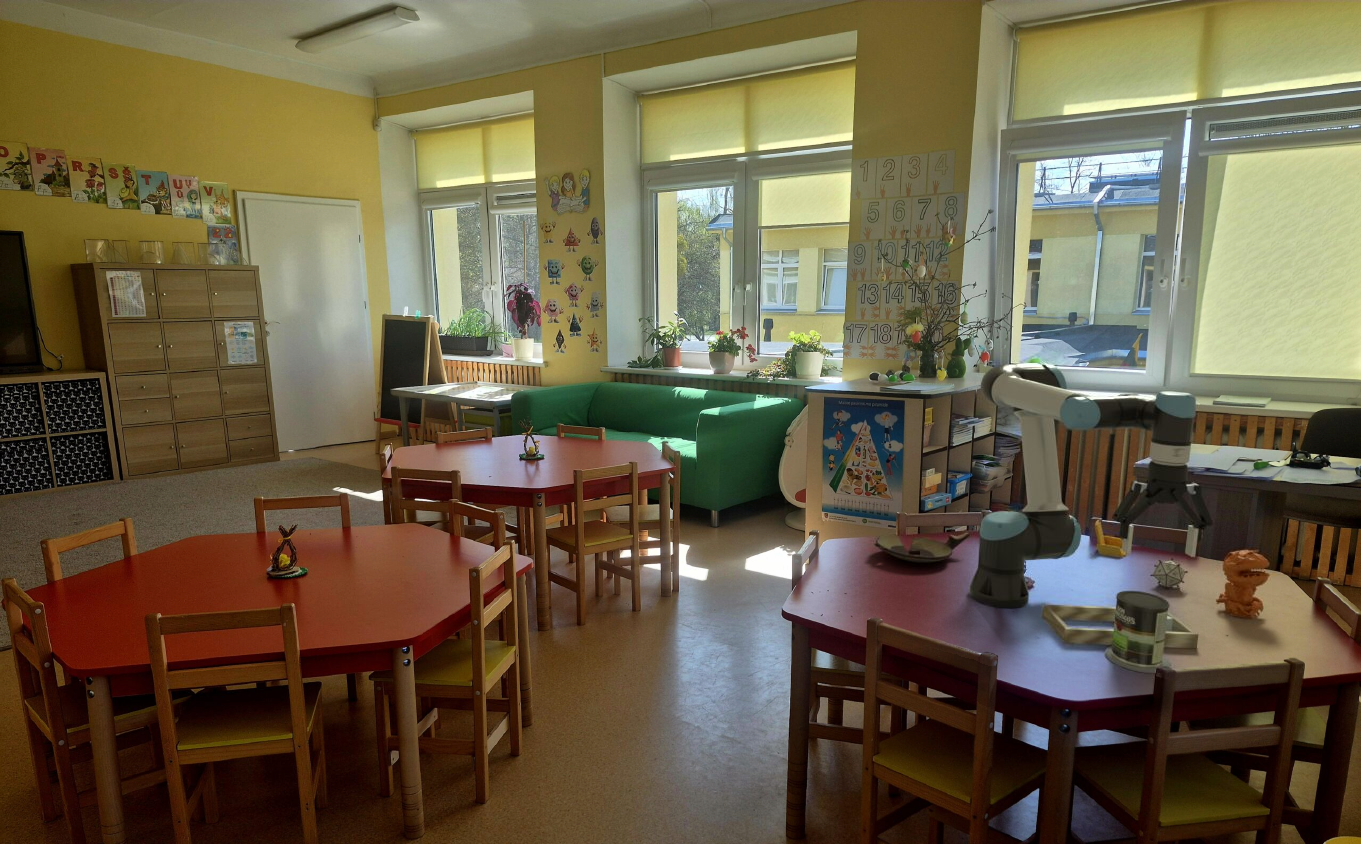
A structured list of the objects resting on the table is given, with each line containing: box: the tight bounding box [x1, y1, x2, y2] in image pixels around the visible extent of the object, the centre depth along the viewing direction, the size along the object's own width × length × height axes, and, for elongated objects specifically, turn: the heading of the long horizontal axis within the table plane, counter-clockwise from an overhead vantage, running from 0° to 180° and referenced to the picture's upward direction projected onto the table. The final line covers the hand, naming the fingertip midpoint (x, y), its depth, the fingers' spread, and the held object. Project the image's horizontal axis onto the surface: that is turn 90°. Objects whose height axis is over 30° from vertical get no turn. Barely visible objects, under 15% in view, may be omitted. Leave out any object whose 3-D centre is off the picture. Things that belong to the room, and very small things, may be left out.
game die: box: [1149, 557, 1189, 591], centre depth 221 cm, size 9×8×10 cm
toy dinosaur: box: [1215, 549, 1271, 619], centre depth 202 cm, size 11×11×18 cm
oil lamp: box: [874, 532, 971, 564], centre depth 243 cm, size 22×30×8 cm
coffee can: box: [1111, 590, 1170, 668], centre depth 176 cm, size 10×10×14 cm
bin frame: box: [1041, 604, 1200, 649], centre depth 191 cm, size 30×15×4 cm, turn 85°
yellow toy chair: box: [1094, 519, 1127, 559], centre depth 252 cm, size 10×10×9 cm
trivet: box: [1104, 645, 1172, 675], centre depth 177 cm, size 13×13×1 cm
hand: (1157, 553), depth 175 cm, fingers open, 13 cm apart
